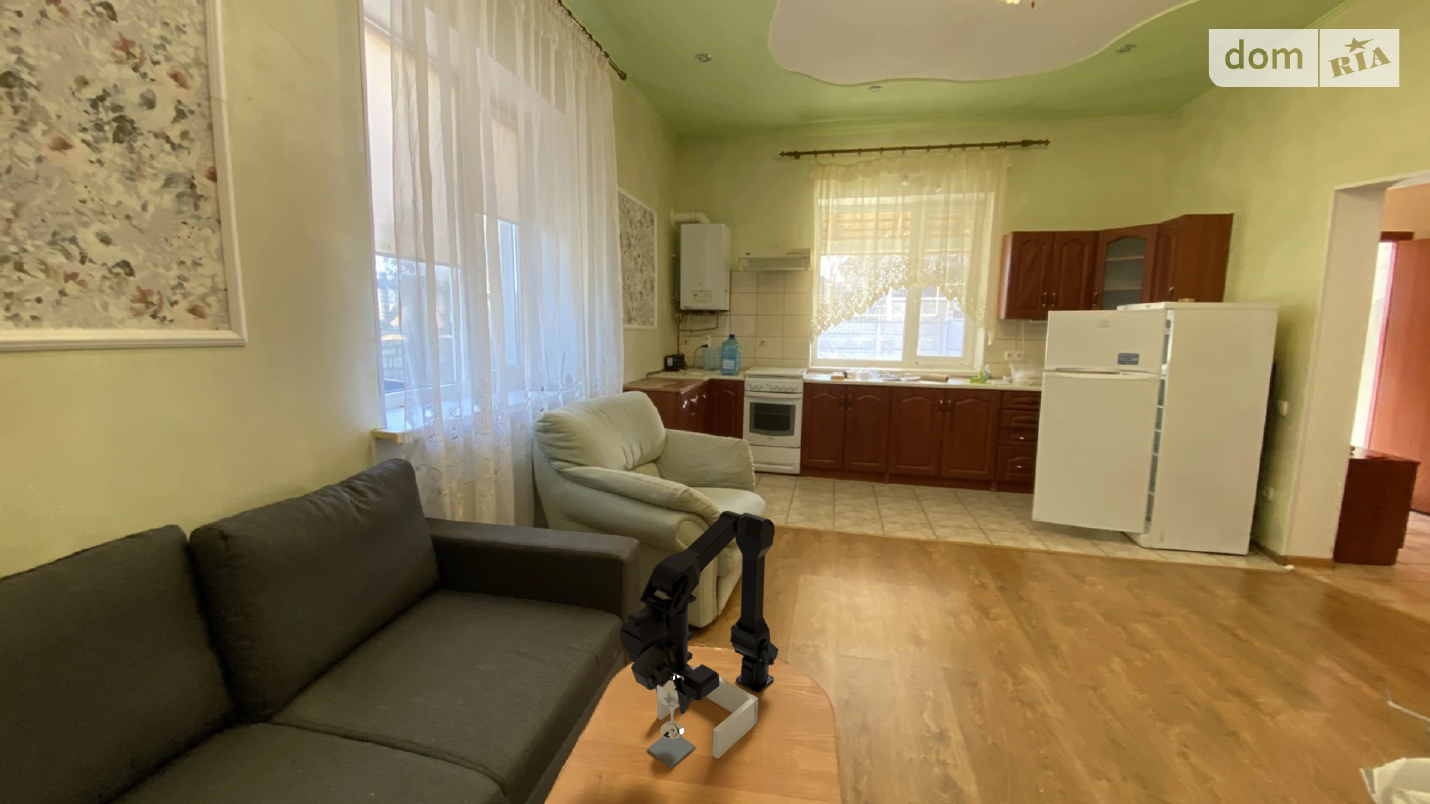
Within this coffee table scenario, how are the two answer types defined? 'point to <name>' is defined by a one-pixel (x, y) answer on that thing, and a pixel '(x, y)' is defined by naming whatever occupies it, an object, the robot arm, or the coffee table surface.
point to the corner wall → (736, 723)
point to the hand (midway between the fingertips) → (672, 706)
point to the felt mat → (671, 750)
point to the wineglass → (671, 700)
